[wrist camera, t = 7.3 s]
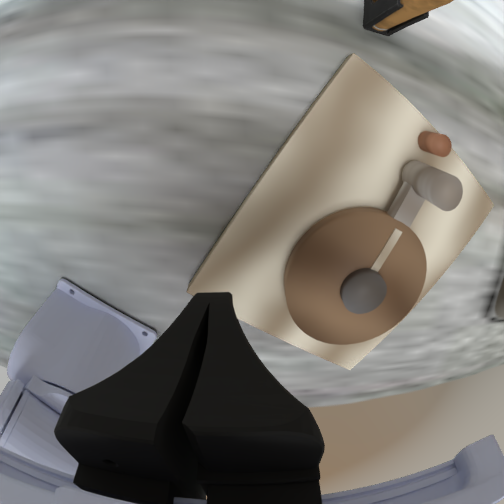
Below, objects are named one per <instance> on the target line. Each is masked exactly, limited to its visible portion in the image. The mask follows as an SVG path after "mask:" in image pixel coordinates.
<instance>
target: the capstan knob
mask: <svg viewBox="0 0 504 504" xmlns="http://www.w3.org/2000/svg"><path fill="white" fill-rule="evenodd" d="M402 181H403V185H402V187H401V189H400V190H399V192H398V194H397V196H396V198H395V200H394V201H393V203H392V205H391V207H390V209H389V210H388V212H386V211H384V210H380V209H377V208H370V207H356V208H349V209H345V210H341V211H338V212H336V213H333V214H331V215H329V216H327V217H325V218H323V219H322V220H320V221H318V222H317V223H316V224H314V225H313V226H312V227H311V228H310V229H309V230H307V231H306V232H305V233H304V234H303V236H302V237H301V238H300V239H299V240H298V242H297V243H296V245H295V246H294V248H293V249H292V251H291V253H290V256H289V258H288V260H287V264H286V267H285V272H284V291H285V297H286V302H287V307H288V310H289V313H290V315H291V317H292V319H293V321H294V322H295V324H296V325H297V326H298V327H299V328H300V329H301V330H302V331H303V332H304V333H305V334H307V335H308V336H310V337H312V338H313V339H315V340H318V341H321V342H324V343H328V344H336V345H349V344H356V343H361V342H365V341H368V340H371V339H373V338H375V337H378V336H380V335H382V334H383V333H385V332H387V331H388V330H390V329H391V328H393V327H394V326H395V325H397V324H398V323H399V322H400V321H401V320H402V319H403V318H404V317H405V316H406V315H407V314H408V313H409V312H410V310H411V309H412V308H413V306H414V305H415V303H416V302H417V300H418V298H419V296H420V294H421V292H422V289H423V286H424V283H425V279H426V272H427V261H426V254H425V251H424V248H423V245H422V243H421V241H420V240H419V238H418V237H417V235H416V234H415V233H414V232H413V231H412V230H411V229H410V226H411V224H412V222H413V221H414V219H415V217H416V215H417V214H418V212H419V210H420V208H421V207H422V205H423V203H424V201H425V199H426V200H427V201H429V202H430V203H432V204H433V205H435V206H437V207H438V208H440V209H441V210H443V211H451V210H453V209H455V208H456V207H457V206H458V205H459V203H460V201H461V199H462V195H463V187H462V184H461V181H460V180H459V179H458V178H457V177H456V176H453V175H451V174H449V173H447V172H444V171H442V170H440V169H437V168H435V167H432V166H430V165H428V164H425V163H423V162H420V161H416V160H414V161H411V162H409V163H408V164H407V165H406V166H405V167H404V169H403V172H402Z"/></svg>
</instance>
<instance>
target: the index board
mask: <svg viewBox="0 0 504 504" xmlns="http://www.w3.org/2000/svg"><path fill="white" fill-rule="evenodd" d="M414 160H416V161H420V162H423V163H425V164H428V165H430V166H432V167H435V168H437V169H440V170H442V171H444V172H447V173H449V174H451V175H453V176H456V177H457V178H458V179H459V180H460V181H461V184H462V187H463V195H462V199H461V201H460V203H459V205H458V206H457V207H456V208H455V209H453V210H451V211H443V210H441V209H440V208H438V207H437V206H435V205H433V204H432V203H430V202H429V201H427V200H426V199H425V201H424V203H423V205H422V207H421V208H420V210H419V212H418V214H417V215H416V217H415V219H414V221H413V222H412V224H411V226H410V229H411V230H412V231H413V232H414V233H415V234H416V235H417V237H418V238H419V240H420V241H421V243H422V245H423V248H424V251H425V254H426V261H427V272H426V279H425V283H424V286H423V289H422V292H421V294H420V296H419V298H418V300H417V302H416V303H415V305H414V306H413V308H414V307H415V306H416V305H417V304H418V303H419V302H420V300H421V299H422V298H423V297H424V296H425V295H426V294H427V293H428V291H429V290H430V289H431V288H432V287H433V286H434V285H435V283H436V282H437V281H438V280H439V279H440V277H441V276H442V275H443V274H444V273H445V271H446V270H447V269H448V268H449V266H450V265H451V264H452V263H453V262H454V260H455V259H456V258H457V256H458V255H459V254H460V253H461V251H462V250H463V249H464V247H465V246H466V245H467V243H468V242H469V241H470V239H471V238H472V237H473V235H474V234H475V232H476V231H477V230H478V228H479V227H480V225H481V224H482V222H483V221H484V220H485V218H486V217H487V215H488V214H489V212H490V211H491V209H492V208H493V206H494V204H493V203H492V201H491V200H490V198H489V197H488V195H487V194H486V192H485V191H484V190H483V188H482V187H481V185H480V184H479V182H478V181H477V180H476V178H475V177H474V176H473V174H472V173H471V172H470V170H469V169H468V168H467V166H466V165H465V164H464V163H463V161H462V160H461V159H460V157H459V156H458V155H457V154H456V153H455V151H454V150H453V149H452V148H451V141H450V139H449V138H448V137H447V136H446V135H443V134H439V133H438V131H437V130H436V129H435V128H434V127H433V126H432V125H431V124H430V123H429V122H428V121H427V119H426V118H425V117H424V116H423V115H422V114H421V113H420V112H419V111H418V110H417V109H416V108H415V107H414V106H413V105H412V104H411V103H410V102H409V101H408V100H407V99H406V98H405V97H404V96H403V95H402V94H401V93H400V92H399V91H397V90H396V89H395V88H394V87H393V86H392V85H391V84H390V83H389V82H388V81H387V80H385V79H384V78H383V77H382V76H381V75H380V74H379V73H377V72H376V71H375V70H374V69H373V68H372V67H370V66H369V65H368V64H367V63H365V62H364V61H363V60H362V59H361V58H359V57H358V56H357V55H355V54H354V53H353V54H351V55H349V56H348V57H347V58H346V60H345V61H344V62H343V63H342V65H341V66H340V67H339V69H338V70H337V71H336V73H335V74H334V75H333V77H332V78H331V79H330V81H329V82H328V83H327V85H326V86H325V87H324V89H323V90H322V91H321V93H320V94H319V96H318V97H317V98H316V100H315V101H314V102H313V104H312V105H311V106H310V108H309V109H308V111H307V112H306V113H305V115H304V116H303V117H302V119H301V120H300V122H299V123H298V124H297V126H296V127H295V129H294V130H293V131H292V133H291V134H290V135H289V137H288V138H287V140H286V141H285V142H284V144H283V145H282V147H281V148H280V150H279V151H278V152H277V154H276V155H275V157H274V158H273V160H272V161H271V162H270V164H269V165H268V167H267V168H266V170H265V171H264V172H263V174H262V175H261V177H260V178H259V180H258V181H257V183H256V184H255V185H254V187H253V188H252V190H251V191H250V193H249V194H248V196H247V197H246V199H245V200H244V201H243V203H242V204H241V206H240V207H239V209H238V210H237V212H236V213H235V215H234V216H233V218H232V219H231V221H230V222H229V224H228V225H227V227H226V228H225V230H224V231H223V233H222V234H221V236H220V237H219V239H218V240H217V242H216V243H215V245H214V246H213V248H212V249H211V251H210V252H209V254H208V255H207V257H206V259H205V260H204V262H203V263H202V265H201V266H200V268H199V269H198V271H197V272H196V274H195V275H194V277H193V279H192V280H191V282H190V283H189V285H188V289H187V293H189V294H191V295H193V296H194V295H195V294H196V293H204V292H230V293H231V294H232V297H233V307H234V310H235V314H236V316H237V318H238V319H240V320H242V321H244V322H246V323H248V324H250V325H252V326H254V327H256V328H258V329H260V330H262V331H264V332H266V333H268V334H271V335H273V336H275V337H277V338H279V339H281V340H283V341H285V342H288V343H290V344H292V345H294V346H296V347H298V348H301V349H303V350H305V351H307V352H309V353H312V354H314V355H316V356H318V357H321V358H323V359H325V360H328V361H330V362H332V363H335V364H337V365H339V366H342V367H344V368H346V369H349V370H351V369H352V368H353V367H354V366H355V365H356V364H357V363H358V362H360V361H361V360H362V359H363V358H364V357H365V356H366V355H367V354H368V353H369V352H370V351H371V350H373V349H374V348H375V347H376V346H377V345H378V344H379V343H380V342H381V341H382V340H383V339H384V338H385V337H386V336H387V335H388V334H389V333H390V332H391V331H392V330H393V329H394V328H395V327H396V326H397V325H398V324H399V323H400V322H401V321H402V320H403V319H404V318H405V317H406V316H407V315H408V314H407V315H406V316H405V317H404V318H403V319H402V320H401V321H400V322H399V323H398V324H397V325H395V326H394V327H393V328H391V329H390V330H388V331H387V332H385V333H383V334H382V335H380V336H378V337H375V338H373V339H371V340H368V341H365V342H361V343H356V344H349V345H336V344H328V343H324V342H321V341H318V340H315V339H313V338H312V337H310V336H308V335H307V334H305V333H304V332H303V331H302V330H301V329H300V328H299V327H298V326H297V325H296V324H295V322H294V321H293V319H292V317H291V315H290V313H289V310H288V307H287V302H286V297H285V291H284V272H285V267H286V264H287V260H288V258H289V256H290V253H291V251H292V249H293V248H294V246H295V245H296V243H297V242H298V240H299V239H300V238H301V237H302V236H303V234H304V233H305V232H306V231H307V230H309V229H310V228H311V227H312V226H313V225H314V224H316V223H317V222H318V221H320V220H322V219H323V218H325V217H327V216H329V215H331V214H333V213H336V212H338V211H341V210H345V209H349V208H356V207H370V208H377V209H380V210H384V211H386V212H388V210H389V209H390V207H391V205H392V203H393V201H394V200H395V198H396V196H397V194H398V192H399V190H400V189H401V187H402V185H403V181H402V172H403V169H404V167H405V166H406V165H407V164H408V163H409V162H411V161H414ZM413 308H412V309H413ZM412 309H411V310H412ZM411 310H410V311H411Z"/></svg>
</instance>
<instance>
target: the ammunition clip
mask: <svg viewBox="0 0 504 504" xmlns="http://www.w3.org/2000/svg"><path fill="white" fill-rule="evenodd" d="M452 1H453V0H364V18H363V27H364V28H365V29H367V30H371V31H374V32H377V33H380V34H384V35H387V36H390V35H392V34H393V33H395V32H397V31H399V30H401V29H403V28H405V27H407V26H410V25H412V24H414V23H416V22H419V21H421V20H423V19H425V18H428V16H429V11H431V10H433V9H436V8H438V7H441V6H443V5H446V4H448V3H450V2H452Z"/></svg>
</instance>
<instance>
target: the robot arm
mask: <svg viewBox="0 0 504 504" xmlns="http://www.w3.org/2000/svg"><path fill="white" fill-rule="evenodd" d="M72 290H73V291H74V292H73V291H72ZM144 331H145V332H147V333H145V332H144ZM156 337H157V333H156V332H155V331H154V330H152V329H150V328H148V327H146V326H144V325H143V324H141V323H139V322H137V321H135V320H133V319H131V318H130V317H128V316H126V315H124V314H122V313H121V312H119V311H117V310H115V309H113V308H112V307H110V306H108V305H106V304H105V303H103V302H101V301H100V300H98V299H96V298H95V297H93V296H91V295H90V294H88V293H86V292H85V291H83V290H81V289H80V288H78V287H77V286H75V285H73V284H72V283H70V282H69V281H67V280H66V279H63V278H61V279H60V280H59V281H58V283H57V288H56V289H55V290H54V291H53V292H52V294H51V295H50V296H49V297H48V298H47V300H46V301H45V302H44V303H43V305H42V306H41V307H40V308H39V310H38V311H37V312H36V313H35V315H34V316H33V317H32V318H31V320H30V321H29V322H28V324H27V325H26V326H25V328H24V329H23V330H22V332H21V334H20V335H19V337H18V339H17V341H16V343H15V345H14V347H13V349H12V352H11V355H10V358H9V362H8V369H7V371H8V372H7V374H8V377H9V379H10V380H11V381H9V382H8V383H7V385H6V387H5V388H4V390H3V392H2V393H1V395H0V504H496V503H498V502H499V501H500V500H502V499H504V456H503V454H502V451H501V449H500V447H499V445H498V443H497V441H496V439H495V437H494V435H489V436H487V437H485V438H483V439H481V440H479V441H476V442H475V443H472V444H470V445H468V446H466V447H465V448H464V449H462V450H461V451H460V452H459V453H458V454H457V455H456V456H455V458H454V459H452V460H450V461H447V462H445V463H442V464H440V465H437V466H434V467H432V468H429V469H426V470H423V471H420V472H417V473H415V474H411V475H408V476H405V477H401V478H398V479H395V480H391V481H387V482H383V483H379V484H375V485H371V486H367V487H363V488H358V489H353V490H348V491H342V492H337V493H331V494H324V495H321V491H320V485H319V479H320V471H319V463H320V461H321V458H322V456H323V453H324V446H325V445H324V441H323V437H322V435H321V432H320V429H319V427H318V425H317V423H316V421H315V419H314V417H313V415H312V414H311V412H310V410H309V409H308V408H307V407H306V406H305V405H303V404H302V403H301V402H300V401H298V400H297V399H296V398H295V397H294V396H293V395H291V394H290V393H289V392H288V391H287V390H286V389H285V388H284V387H283V386H282V385H281V384H280V383H279V382H278V381H277V380H276V378H275V377H274V376H273V375H272V374H271V373H270V372H269V371H268V369H267V368H266V367H265V366H264V364H263V363H262V362H261V360H260V359H259V358H258V356H257V355H256V353H255V352H254V350H253V349H252V347H251V345H250V344H249V342H248V340H247V338H246V336H245V334H244V333H243V330H242V328H241V326H240V324H239V321H238V319H237V316H236V314H235V310H234V307H233V297H232V294H231V293H230V292H204V293H196V294H195V295H194V296H193V298H192V299H191V300H190V302H189V303H188V305H187V306H186V307H185V308H184V310H183V311H182V312H181V314H180V315H179V316H178V317H177V318H176V320H175V321H174V322H173V323H172V324H171V326H170V327H169V328H168V329H167V330H166V331H165V332H164V333H163V334H162V335H161V336H160V337H159V339H158V340H157V341H156V342H155V343H154V341H155V339H156ZM153 343H154V344H153ZM206 495H207V500H206Z"/></svg>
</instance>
